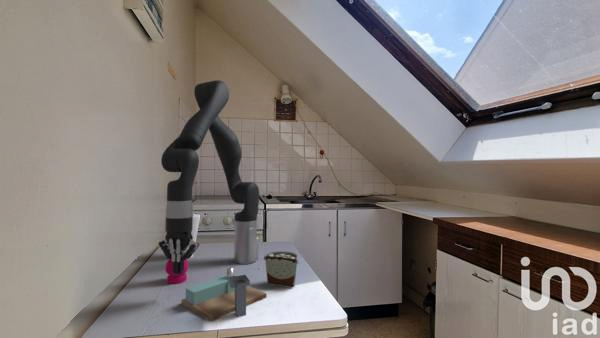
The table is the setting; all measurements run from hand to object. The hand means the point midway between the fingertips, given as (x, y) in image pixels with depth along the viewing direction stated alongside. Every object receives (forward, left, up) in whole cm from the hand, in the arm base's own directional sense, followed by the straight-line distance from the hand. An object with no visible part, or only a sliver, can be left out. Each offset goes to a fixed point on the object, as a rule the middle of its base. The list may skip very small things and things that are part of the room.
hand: (178, 273), depth 89 cm
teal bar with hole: (-7, +8, -6) cm, 13 cm away
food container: (-30, +15, -8) cm, 34 cm away
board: (-8, +12, -7) cm, 16 cm away
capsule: (-13, +8, -7) cm, 17 cm away
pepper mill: (-7, -14, -8) cm, 17 cm away
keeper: (-7, +20, -7) cm, 22 cm away
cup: (-24, -38, -8) cm, 45 cm away
